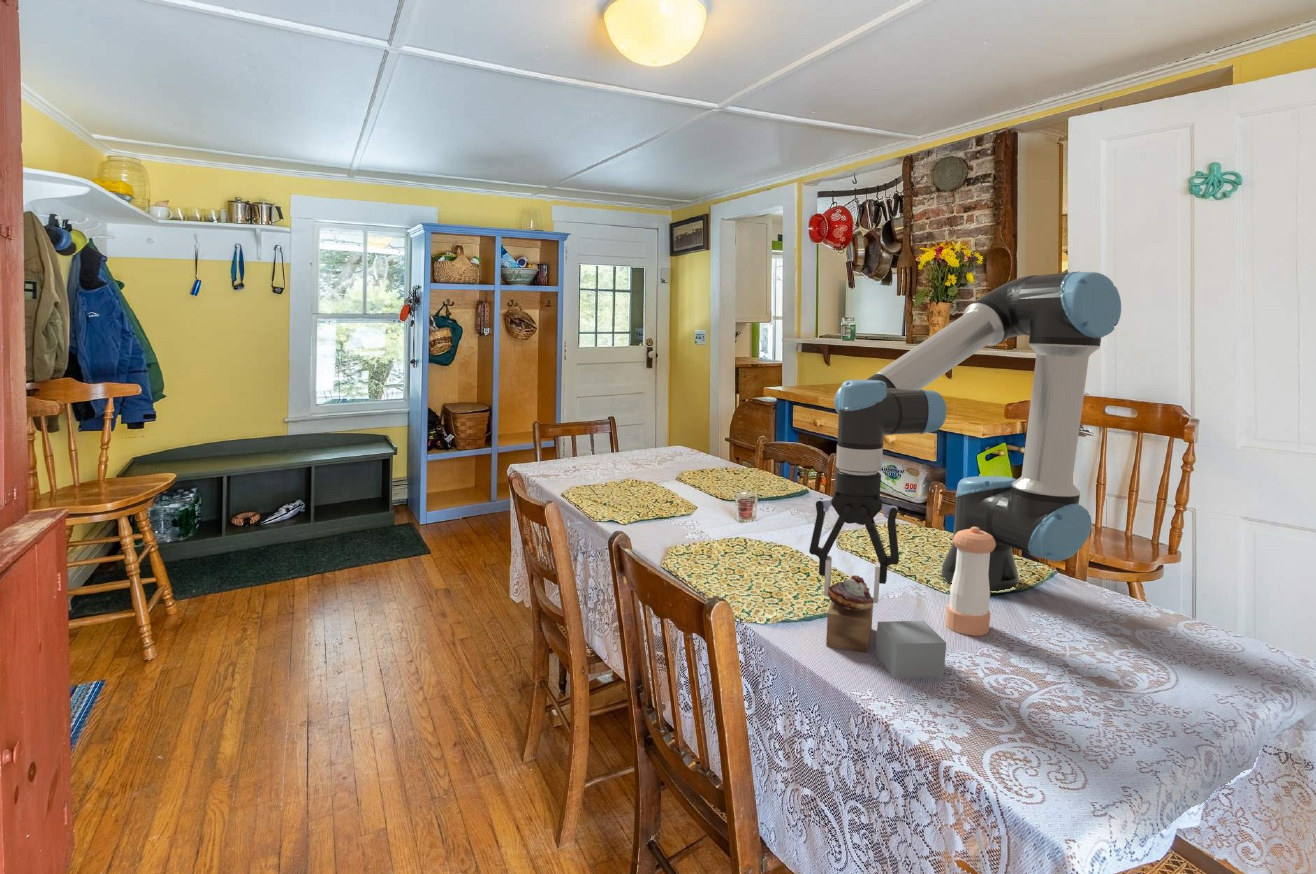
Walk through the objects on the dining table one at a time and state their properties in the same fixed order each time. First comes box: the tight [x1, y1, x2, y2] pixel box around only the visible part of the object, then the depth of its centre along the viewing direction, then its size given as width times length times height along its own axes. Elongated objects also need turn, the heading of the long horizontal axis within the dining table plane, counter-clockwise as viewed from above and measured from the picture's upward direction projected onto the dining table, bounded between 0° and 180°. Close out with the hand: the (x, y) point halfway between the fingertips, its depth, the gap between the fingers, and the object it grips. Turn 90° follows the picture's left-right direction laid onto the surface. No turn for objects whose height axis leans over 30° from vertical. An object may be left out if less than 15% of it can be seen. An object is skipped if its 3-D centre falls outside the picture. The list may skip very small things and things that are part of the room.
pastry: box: [827, 574, 874, 611], centre depth 118 cm, size 8×8×5 cm
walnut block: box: [825, 596, 874, 654], centre depth 121 cm, size 7×10×6 cm
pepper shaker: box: [945, 527, 996, 637], centre depth 124 cm, size 7×7×19 cm
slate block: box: [875, 620, 947, 679], centre depth 111 cm, size 8×8×6 cm
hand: (851, 596), depth 120 cm, fingers closed on pastry, 8 cm apart
